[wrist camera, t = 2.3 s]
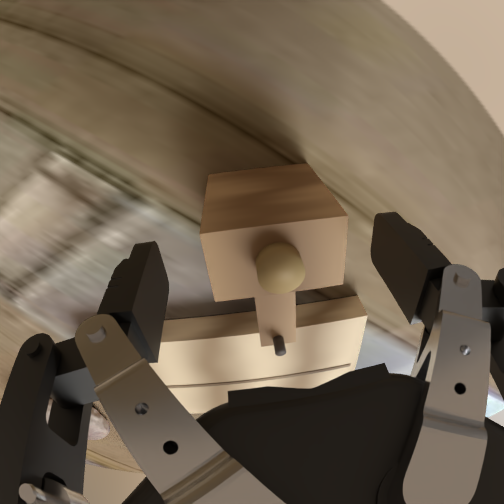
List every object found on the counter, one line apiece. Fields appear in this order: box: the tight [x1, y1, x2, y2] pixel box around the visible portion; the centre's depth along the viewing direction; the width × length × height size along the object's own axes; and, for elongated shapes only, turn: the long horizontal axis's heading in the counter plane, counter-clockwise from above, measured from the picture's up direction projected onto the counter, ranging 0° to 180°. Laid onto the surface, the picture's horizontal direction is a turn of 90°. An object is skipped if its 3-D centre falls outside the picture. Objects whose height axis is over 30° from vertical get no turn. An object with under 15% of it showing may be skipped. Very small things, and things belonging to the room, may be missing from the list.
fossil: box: [46, 398, 110, 440], centre depth 26 cm, size 12×4×10 cm
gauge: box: [200, 163, 348, 356], centre depth 15 cm, size 5×9×7 cm, turn 6°
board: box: [149, 295, 367, 413], centre depth 22 cm, size 20×10×2 cm, turn 96°
